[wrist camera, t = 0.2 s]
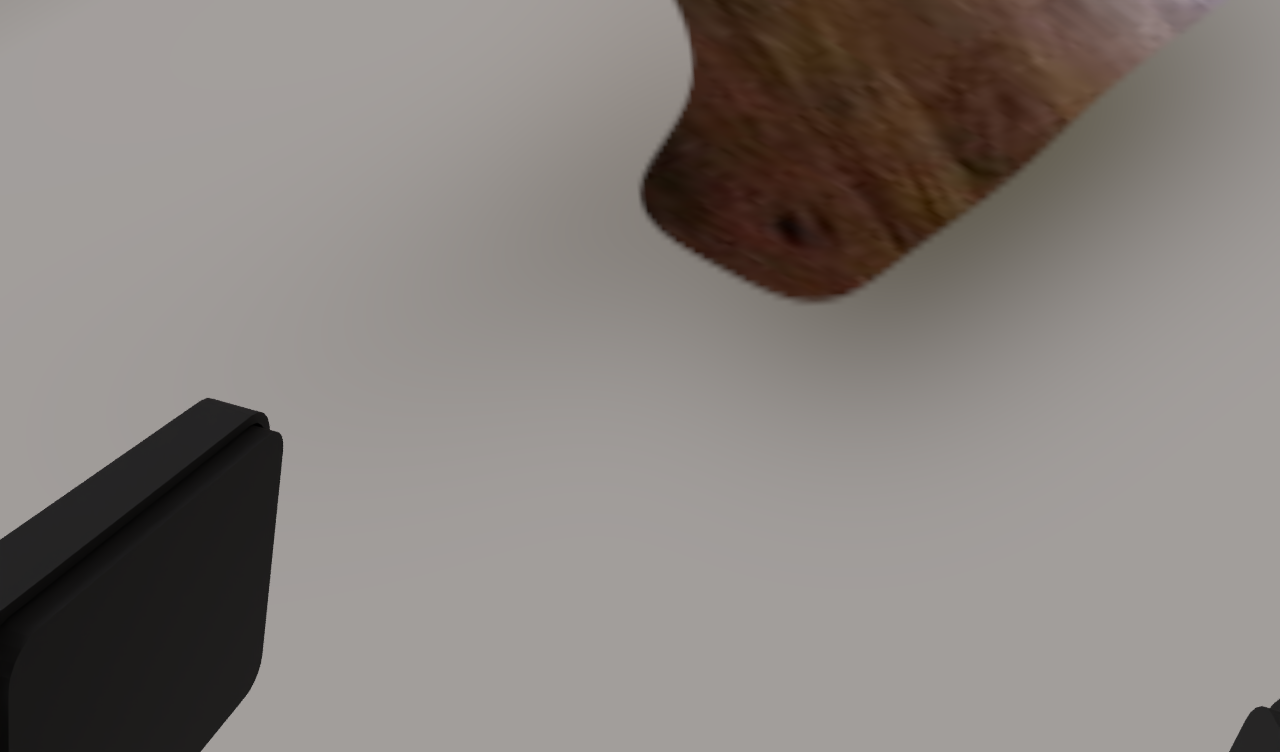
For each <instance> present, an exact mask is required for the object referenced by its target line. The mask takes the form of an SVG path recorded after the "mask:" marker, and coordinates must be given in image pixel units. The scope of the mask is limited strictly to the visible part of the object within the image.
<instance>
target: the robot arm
mask: <svg viewBox="0 0 1280 752" xmlns="http://www.w3.org/2000/svg"><path fill="white" fill-rule="evenodd" d="M282 455H283V439H282V436H281V434H280V433H279V432H275V431H272V430H270V426H269V422H268V418H267V416H266V415H265V414H264V413H262V412H258V411H254V410H251V409H247V408H244V407H240V406H237V405H233V404H229V403H226V402H222V401H219V400H215V399H210V398H206V399H204V400H201V401H200V402H198V403H197V404H195V405H194V406H192V407H191V408H189V409H188V410H187V411H185V412H184V413H183V414H181V415H179V416H178V417H176V418H175V419H174V420H172V421H171V422H169V423H168V424H166V425H165V426H163V427H162V428H161V429H159V430H158V431H156V432H155V433H154V434H152V435H151V436H149V437H148V438H146V439H145V440H143V441H142V442H140V443H139V444H138V445H136V446H135V447H133V448H132V449H130V450H129V451H127V452H126V453H125V454H123V455H122V456H120V457H119V458H117V459H116V460H115V461H113V462H112V463H110V464H109V465H107V466H106V467H104V468H103V469H102V470H100V471H99V472H97V473H96V474H94V475H93V476H91V477H90V478H89V479H87V480H86V481H84V482H83V483H81V484H80V485H79V486H77V487H76V488H74V489H73V490H71V491H70V492H68V493H67V494H66V495H64V496H63V497H61V498H60V499H59V500H57V501H55V502H54V503H53V504H51V505H50V506H48V507H47V508H45V509H44V510H43V511H41V512H40V513H38V514H37V515H35V516H34V517H32V518H31V519H30V520H28V521H27V522H25V523H24V524H22V525H21V526H19V527H18V528H17V529H15V530H14V531H12V532H11V533H9V534H8V535H6V536H5V537H4V538H2V539H1V540H0V752H201V750H202V749H203V748H204V747H205V745H206V744H207V743H208V742H209V741H210V739H211V738H212V737H213V736H214V734H215V733H216V732H217V731H218V729H219V728H220V727H221V726H222V725H223V723H224V722H225V721H226V719H228V717H229V716H230V715H231V714H232V712H233V711H234V710H235V709H236V707H237V706H238V705H239V704H240V703H241V701H242V700H243V699H244V698H245V696H246V695H247V694H248V692H249V690H250V689H251V687H252V685H253V683H254V681H255V679H256V676H257V674H258V671H259V667H260V664H261V659H262V653H263V643H264V633H265V623H266V612H267V603H268V593H269V583H270V574H271V564H272V553H273V544H274V533H275V523H276V514H277V503H278V495H279V485H280V475H281V464H282ZM1229 752H1280V699H1279V700H1278V701H1277V702H1275V703H1274V704H1273V705H1272V706H1271V708H1267V707H1263V706H1261V707H1257V708H1255V709H1254V710H1253V711H1252V712H1251V713H1250V714H1249V716H1248V717H1247V719H1246V720H1245V723H1244V724H1243V726H1242V728H1241V730H1240V732H1239V734H1238V736H1237V738H1236V740H1235V742H1234V744H1233V746H1232V747H1231V749H1230V751H1229Z"/></svg>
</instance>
